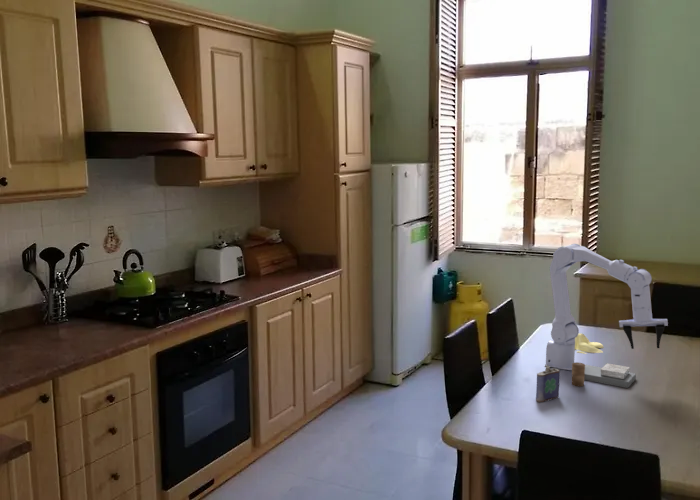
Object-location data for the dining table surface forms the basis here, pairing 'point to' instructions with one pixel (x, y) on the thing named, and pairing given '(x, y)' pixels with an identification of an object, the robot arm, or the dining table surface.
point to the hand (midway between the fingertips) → (645, 347)
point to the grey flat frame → (607, 377)
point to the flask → (547, 384)
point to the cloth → (586, 345)
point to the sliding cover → (615, 371)
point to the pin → (578, 374)
